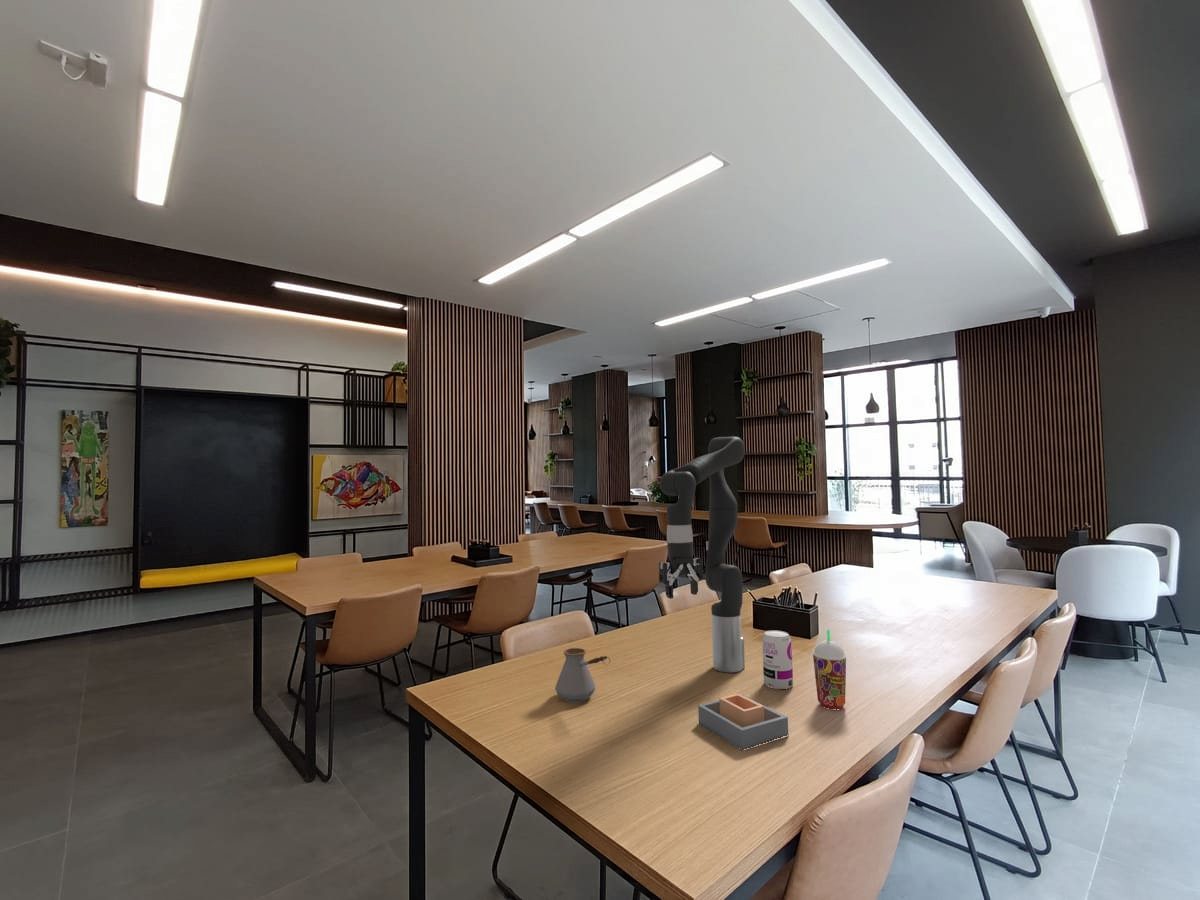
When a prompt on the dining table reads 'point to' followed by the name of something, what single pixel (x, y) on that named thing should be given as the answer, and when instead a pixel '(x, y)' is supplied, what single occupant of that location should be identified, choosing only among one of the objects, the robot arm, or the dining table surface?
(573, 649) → the coffee pot
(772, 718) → the grey crate
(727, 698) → the terracotta crate
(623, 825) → the dining table surface
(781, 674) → the supplement can
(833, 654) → the smoothie
